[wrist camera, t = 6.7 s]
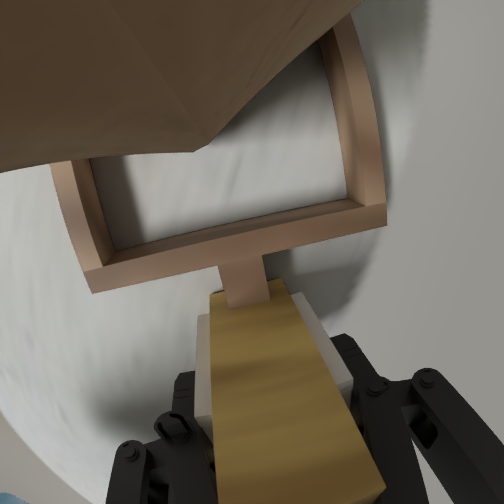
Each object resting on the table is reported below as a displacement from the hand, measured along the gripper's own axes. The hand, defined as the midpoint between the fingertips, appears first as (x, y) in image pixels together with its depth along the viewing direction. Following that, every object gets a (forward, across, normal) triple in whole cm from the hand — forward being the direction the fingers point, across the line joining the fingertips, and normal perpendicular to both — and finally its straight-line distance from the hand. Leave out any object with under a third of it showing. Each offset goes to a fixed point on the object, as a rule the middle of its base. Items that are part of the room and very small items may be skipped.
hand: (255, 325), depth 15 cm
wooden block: (+1, 0, -16) cm, 16 cm away
